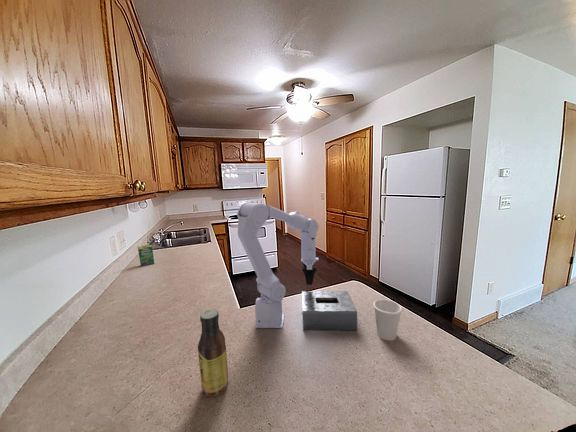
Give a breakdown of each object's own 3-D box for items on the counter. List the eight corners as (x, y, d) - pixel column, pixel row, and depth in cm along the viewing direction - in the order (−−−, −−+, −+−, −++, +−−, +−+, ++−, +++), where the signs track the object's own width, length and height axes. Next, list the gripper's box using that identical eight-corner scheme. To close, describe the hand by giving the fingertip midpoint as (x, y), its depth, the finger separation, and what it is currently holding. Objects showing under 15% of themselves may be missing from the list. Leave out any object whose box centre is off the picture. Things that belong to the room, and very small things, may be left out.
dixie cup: (379, 323, 77) (379, 296, 76) (404, 334, 72) (406, 305, 70) (368, 335, 72) (368, 306, 70) (395, 347, 66) (396, 316, 64)
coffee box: (140, 266, 143) (137, 247, 142) (139, 265, 146) (137, 246, 144) (154, 263, 148) (152, 244, 146) (154, 262, 150) (152, 244, 149)
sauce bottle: (206, 377, 57) (200, 305, 55) (230, 375, 58) (225, 303, 55) (198, 402, 51) (190, 321, 48) (225, 399, 51) (220, 319, 49)
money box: (303, 330, 75) (302, 311, 74) (302, 308, 89) (301, 291, 88) (356, 330, 74) (357, 311, 73) (347, 308, 88) (347, 291, 87)
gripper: (320, 253, 81) (320, 288, 83) (316, 243, 96) (317, 273, 97) (301, 253, 81) (301, 288, 83) (300, 243, 96) (301, 273, 98)
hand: (308, 280), depth 90 cm, fingers open, 7 cm apart
